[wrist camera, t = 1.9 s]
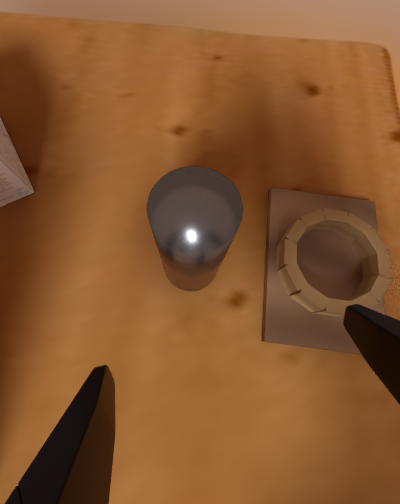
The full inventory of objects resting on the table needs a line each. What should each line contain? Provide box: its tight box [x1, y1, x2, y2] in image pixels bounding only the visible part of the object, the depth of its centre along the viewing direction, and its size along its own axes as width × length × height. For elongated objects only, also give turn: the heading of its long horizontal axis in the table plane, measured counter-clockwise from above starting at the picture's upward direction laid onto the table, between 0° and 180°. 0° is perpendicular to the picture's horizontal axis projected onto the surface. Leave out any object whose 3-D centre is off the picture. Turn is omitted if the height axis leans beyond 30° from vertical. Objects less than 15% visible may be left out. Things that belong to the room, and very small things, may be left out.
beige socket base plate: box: [262, 187, 392, 354], centre depth 22 cm, size 14×10×3 cm
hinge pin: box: [147, 166, 243, 291], centre depth 18 cm, size 5×5×11 cm
